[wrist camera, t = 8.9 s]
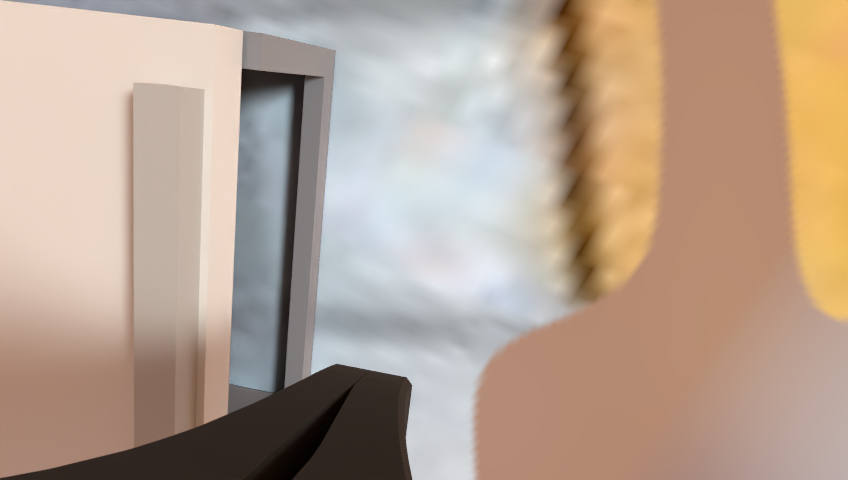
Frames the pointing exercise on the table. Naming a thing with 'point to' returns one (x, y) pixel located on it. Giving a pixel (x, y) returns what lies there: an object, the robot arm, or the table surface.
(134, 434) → the lid
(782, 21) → the table surface
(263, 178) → the table surface
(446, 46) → the table surface
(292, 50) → the box
